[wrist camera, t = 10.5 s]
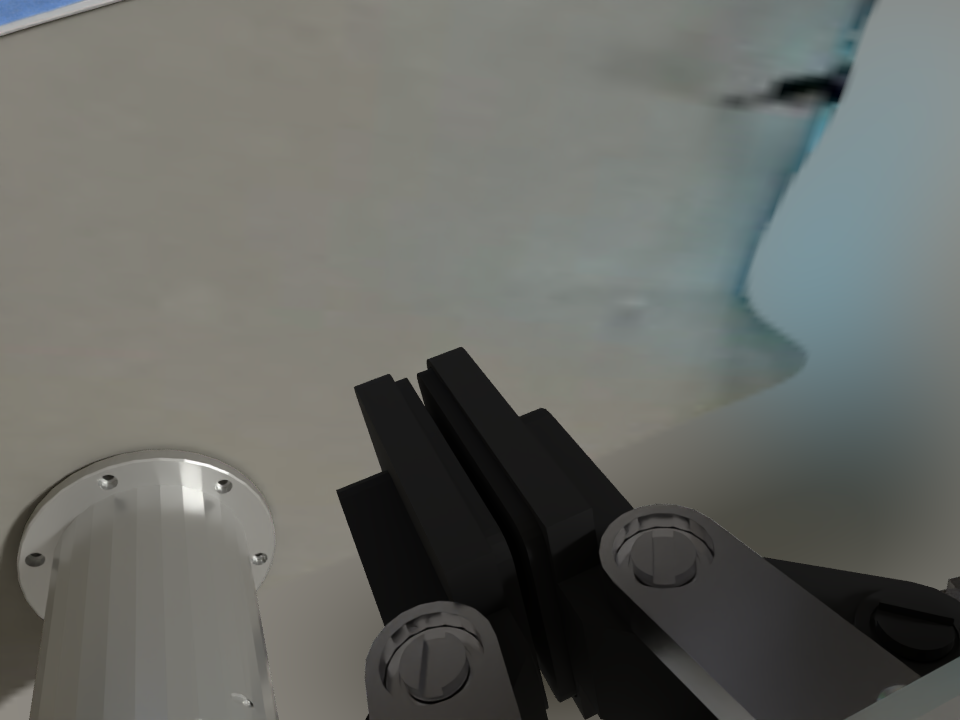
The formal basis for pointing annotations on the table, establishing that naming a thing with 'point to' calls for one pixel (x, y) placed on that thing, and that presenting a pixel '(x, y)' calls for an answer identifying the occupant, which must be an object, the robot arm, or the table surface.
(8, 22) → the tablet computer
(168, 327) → the table surface
